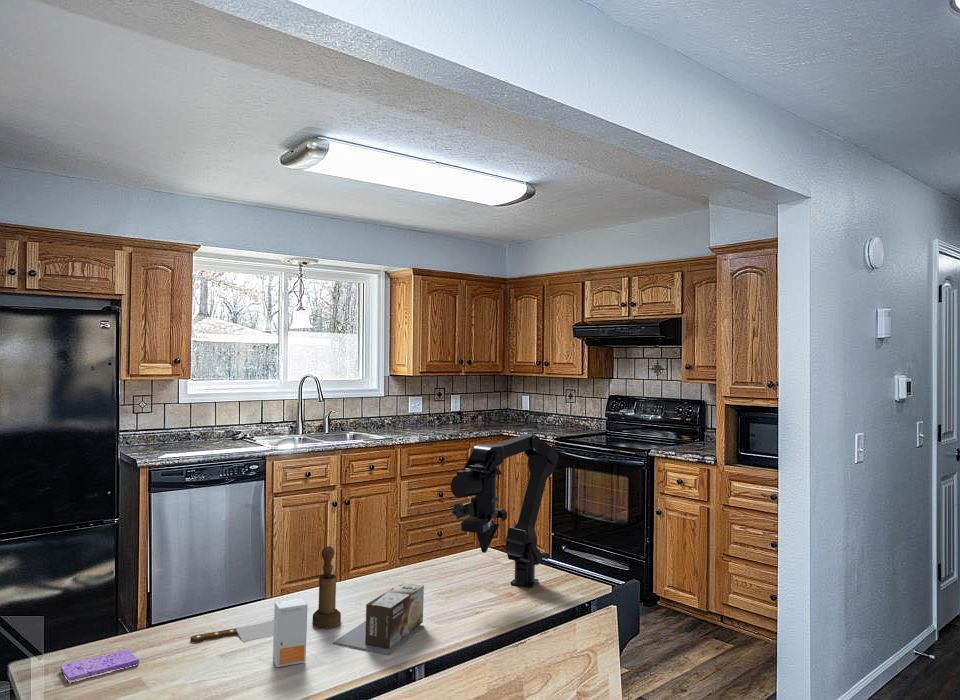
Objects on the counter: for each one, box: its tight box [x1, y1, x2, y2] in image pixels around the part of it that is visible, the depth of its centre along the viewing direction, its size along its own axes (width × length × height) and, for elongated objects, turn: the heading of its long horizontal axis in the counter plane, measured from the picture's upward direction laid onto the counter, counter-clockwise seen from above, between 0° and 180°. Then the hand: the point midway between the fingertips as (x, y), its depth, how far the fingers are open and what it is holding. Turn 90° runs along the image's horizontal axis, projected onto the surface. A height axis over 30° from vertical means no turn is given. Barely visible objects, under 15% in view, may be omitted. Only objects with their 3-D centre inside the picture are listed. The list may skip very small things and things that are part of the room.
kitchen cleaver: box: [190, 619, 274, 644], centre depth 153 cm, size 24×1×10 cm
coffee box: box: [365, 581, 425, 648], centre depth 154 cm, size 9×6×16 cm
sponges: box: [60, 648, 140, 680], centre depth 135 cm, size 7×13×2 cm, turn 133°
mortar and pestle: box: [311, 545, 342, 630], centre depth 160 cm, size 7×6×18 cm
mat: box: [332, 620, 425, 656], centre depth 153 cm, size 16×14×1 cm
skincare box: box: [272, 598, 309, 668], centre depth 139 cm, size 6×4×12 cm
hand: (484, 552), depth 179 cm, fingers closed
